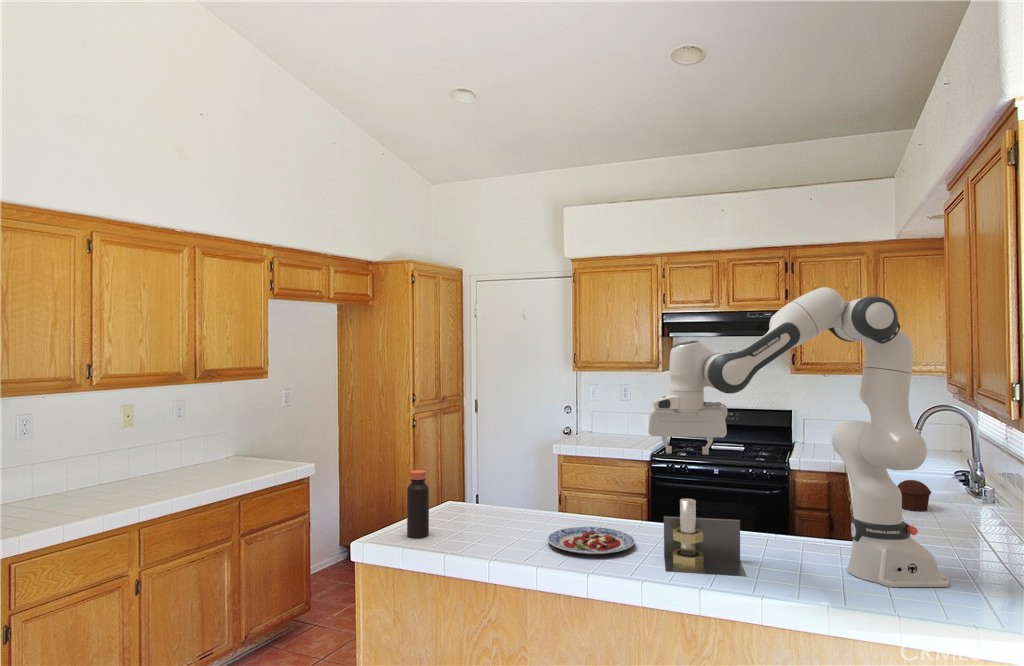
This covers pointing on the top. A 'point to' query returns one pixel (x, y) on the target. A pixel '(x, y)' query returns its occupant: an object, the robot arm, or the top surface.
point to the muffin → (914, 495)
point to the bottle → (417, 505)
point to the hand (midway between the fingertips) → (687, 453)
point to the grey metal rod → (688, 525)
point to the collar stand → (704, 547)
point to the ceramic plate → (591, 540)
